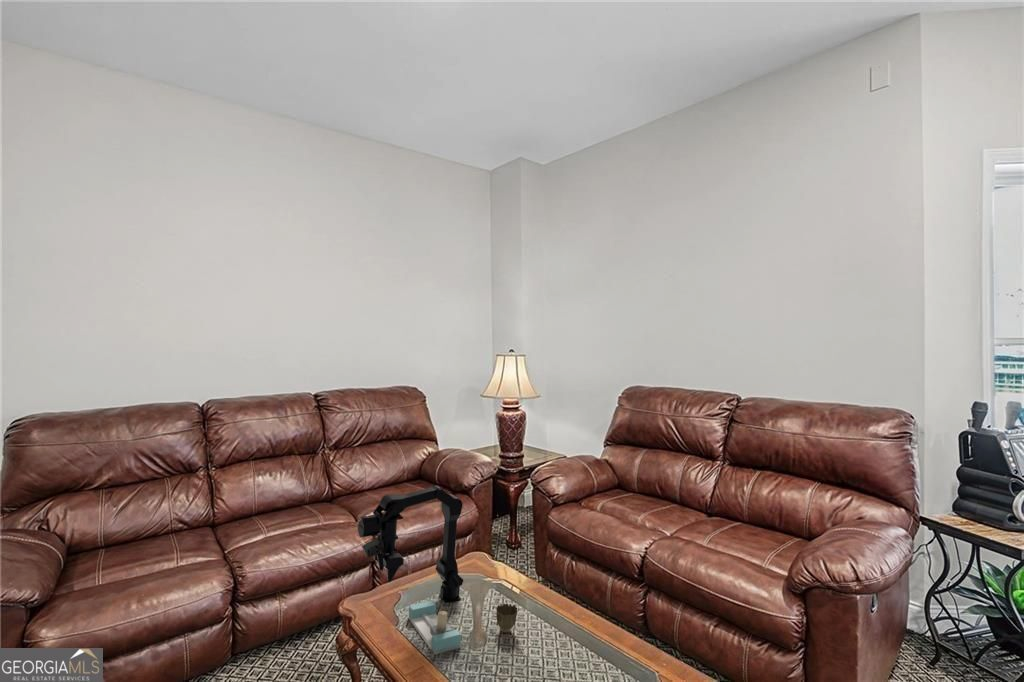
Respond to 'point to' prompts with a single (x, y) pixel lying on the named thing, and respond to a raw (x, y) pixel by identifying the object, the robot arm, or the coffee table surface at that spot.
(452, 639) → the rail track
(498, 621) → the cup
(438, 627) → the carriage
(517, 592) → the coffee table surface
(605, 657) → the coffee table surface
